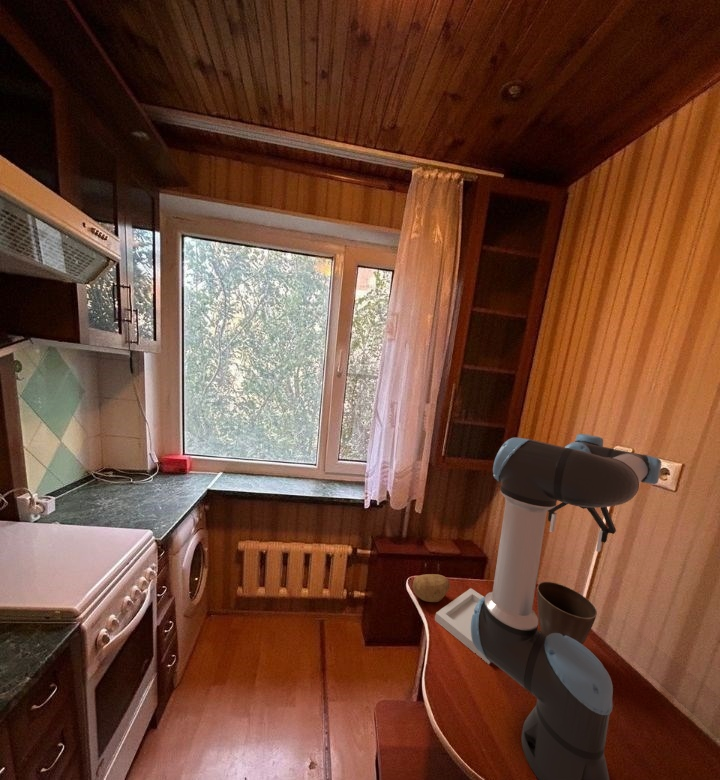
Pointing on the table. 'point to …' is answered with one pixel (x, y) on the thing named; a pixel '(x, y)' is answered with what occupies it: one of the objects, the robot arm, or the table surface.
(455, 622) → the white rimmed tray
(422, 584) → the potato
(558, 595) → the plant pot
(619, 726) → the table surface
